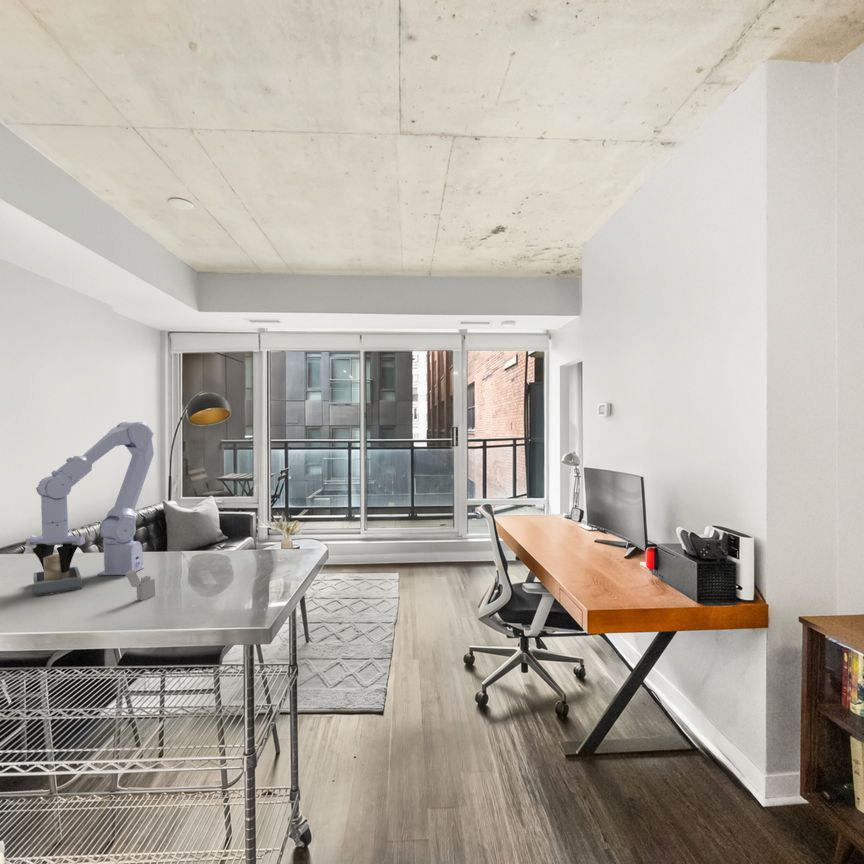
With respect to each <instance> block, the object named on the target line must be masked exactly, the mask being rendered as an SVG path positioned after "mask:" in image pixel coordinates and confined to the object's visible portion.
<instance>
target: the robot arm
mask: <svg viewBox="0 0 864 864" xmlns="http://www.w3.org/2000/svg"><path fill="white" fill-rule="evenodd" d="M153 436H154V433H153V431H152V429H151V428H150V426H149V425H148V424H147V423H146V422H143V421H136V422H134V421H133V422H127V421H123V422H120V423H119V424H117V425H116V426H115V427H112V428H111V429H110V430H109V431H108V432H107V433H106V434H105V435H103V436H102V438H100V439H99V440H98V441H97V442H96V443H95V444H94V445H93V446H91V447H90V449H88V450H87V451H86V452H85V453H84V454H83V455H74V456H72V457H71V456H69V457H67V458H66V459H65V461H66V462H65V463H64V464H63V465H62V466H60V467H59V468H58V469H57V470H52V471H51V473H50V474H51V476H49V475H48V476H45V477H43V478H41V480H40V481H39V482H38V485H37V487H36V488H35V490H36V492H37V494H38V495H39V496H40V501H41V503H40V504H41V505H40V509H41V511H40V512H41V513H40V514H41V532H42V533H41V535H42V536H31V537H28V538H25V547H32V546H35V547H33V548H32V552H33V553H34V554H35V555H36V557H37V559H38V560H39V562H40V564H41V568H42V569H43V570H42V571H44V563H43V558H45V557H48V556H50V555H53V554H54V550H55V546H58V547H56V551H57V554H59V557H60V564H61V572H62V573H65V572H67V571H69V568H70V567H71V565H72V564H71V563H72V560H73V557H74V554H75V552H76V551H77V549H78V548H79V546H82V545H85V544H86V536H81V535H69V519H68V517H69V516H68V497H67V496H68V495H70V493H71V491H72V487H74V486H75V485H76V484H77V483H78V482H80V481H81V480H82V479H83V478H84V477H86V476H87V475H88V474H89V473H90V472H92V470H93V464H94V463H96V462H97V461H98V460H99V459H101V458H102V457H103V456H105V455H106V454H108V453H109V452H110V451H111V450H113V449H114V448H116V447H119V446H124V447H126V448H127V450H128V451H129V453H130V455H131V458H130V460H129V464H128V467H127V469H126V471H125V475H124V478H123V480H122V483H121V486H120V489H119V492H118V494H117V498H116V501H115V503H114V506H113V507H112V508H111V509H109V511H108V512H107V513H106V517H105V518H104V519H103V520H102V521H101V522H100V524H99V527H98V533H99V534H100V536H101V537H102V538H103V540H102V543H103V564H104V565H103V570H102V571H100V572H98V573H97V576H126V575H125V573H127V572H128V571H129V570H134V571H135V572H136V573H137V572H139V571H140V570H142V569H144V568H145V565H144V561H143V559H144V558H143V546H142V543H141V542H140V541H136V540H135V541H134V540H133V538H134V537H135V535H136V530H137V526H136V523H137V519H138V517H137V515H136V512H135V509H136V506H137V503H138V501H139V498H140V495H141V492H142V489H143V486H144V483H145V480H146V478H147V475H148V472H149V469H150V466H151V464H152V460H153V459H154V454H155V453H154V451H155V450H154V445H153Z"/></svg>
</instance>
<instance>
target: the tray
mask: <svg viewBox="0 0 864 864" xmlns="http://www.w3.org/2000/svg"><path fill="white" fill-rule="evenodd" d="M82 587H83V586H82V576H81V573H80V571H79V568H78V566H70V568H69V576H68V577H66V578H63V579H61V580H48V581H44V570H42V571H37V572H33V595H34V597H35V596H37V597H40V596H39V595H42V596H46V595H45V594H48V595H52V594H51V593H54V594H58V593H57V592H60V593H66V592H71V591H70V590H72V591H76V589H78V590H81V589H80V588H82ZM65 591H66V592H65ZM35 598H36V597H35Z"/></svg>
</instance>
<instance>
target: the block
mask: <svg viewBox="0 0 864 864" xmlns="http://www.w3.org/2000/svg"><path fill="white" fill-rule="evenodd" d="M43 563H44V570H43V571H44V581H48V580H61V579H63V578H66V577H68V576H69V571H67V572H65V573H62V572H61V564H60V557H59V553H53V555H50V556H48V557H45V558H43Z"/></svg>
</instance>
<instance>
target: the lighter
mask: <svg viewBox="0 0 864 864" xmlns="http://www.w3.org/2000/svg"><path fill="white" fill-rule="evenodd" d="M124 576H126V578H127V580H128V582H129V585H130V586H131V587H133V588H136V601H139V600H143V601H145V600H148V599H150V597H151V598H153V597H155V596H156V578H152V577H151V575H146V576H142V577H140V578H139V576H138V574H137V571H136V572H135V571H134V570H129V571H128V572H127V573H125V575H124ZM147 598H148V599H147ZM144 599H145V600H144Z"/></svg>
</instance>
